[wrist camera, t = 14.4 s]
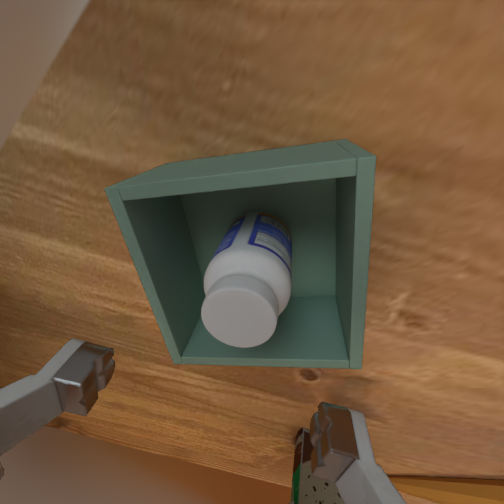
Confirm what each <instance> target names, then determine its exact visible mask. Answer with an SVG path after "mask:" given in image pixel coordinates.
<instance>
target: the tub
mask: <svg viewBox="0 0 504 504" xmlns="http://www.w3.org/2000/svg"><path fill="white" fill-rule="evenodd" d="M375 167H376V156H375V155H373V154H372V153H370V152H368V151H366V150H364V149H363V148H361V147H359V146H357V145H356V144H354V143H352V142H350V141H348V140H347V139H343V140H336V141H328V142H321V143H313V144H306V145H298V146H291V147H283V148H276V149H269V150H261V151H254V152H246V153H239V154H231V155H224V156H216V157H209V158H201V159H194V160H186V161H179V162H171V163H166V164H163V165H161V166H158V167H156V168H153V169H151V170H149V171H146V172H144V173H141V174H139V175H136V176H134V177H131V178H129V179H126V180H124V181H121V182H119V183H116V184H114V185H111V186H109V187H106V188H105V192H106V194H107V197H108V199H109V202H110V204H111V207H112V209H113V212H114V214H115V217H116V219H117V222H118V224H119V227H120V229H121V232H122V235H123V237H124V240H125V242H126V245H127V247H128V250H129V252H130V255H131V257H132V260H133V262H134V265H135V267H136V270H137V272H138V275H139V277H140V280H141V282H142V285H143V287H144V290H145V293H146V295H147V298H148V300H149V303H150V305H151V308H152V310H153V313H154V315H155V318H156V320H157V323H158V325H159V328H160V330H161V333H162V335H163V338H164V340H165V343H166V346H167V348H168V351H169V353H170V356H171V358H172V361H173V363H174V364H199V365H234V366H270V367H305V368H340V369H362V357H363V342H364V328H365V313H366V298H367V284H368V269H369V255H370V240H371V225H372V211H373V196H374V182H375ZM250 212H266V213H269V214H272V215H274V216H276V217H278V218H279V219H280V220H282V221H283V222H284V223H285V225H286V226H287V228H288V229H289V232H290V234H291V239H292V286H291V295H290V299H289V302H288V304H287V306H286V308H285V309H284V310H283V312H282V313H281V314H280V315H278V319H277V326H276V329H275V331H274V333H273V335H272V336H271V337H270V338H269V339H268V340H267V341H266V342H264V343H263V344H260V345H258V346H254V347H248V348H241V347H235V346H230V345H228V344H225V343H223V342H221V341H219V340H218V339H216V338H215V337H213V336H212V335H211V334H210V333H209V332H208V330H207V329H206V328H205V326H204V324H203V321H202V318H201V308H202V304H203V302H204V299H205V297H206V295H205V292H204V276H205V272H206V269H207V267H208V265H209V263H210V261H211V259H212V258H213V256H214V254H215V252H216V250H217V249H218V247H219V245H220V243H221V242H222V240H223V238H224V236H225V235H226V233H227V231H228V229H229V227H230V226H231V225H232V223H233V222H234V221H235V220H236V219H237V218H239V217H240V216H242V215H244V214H246V213H250Z"/></svg>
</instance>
